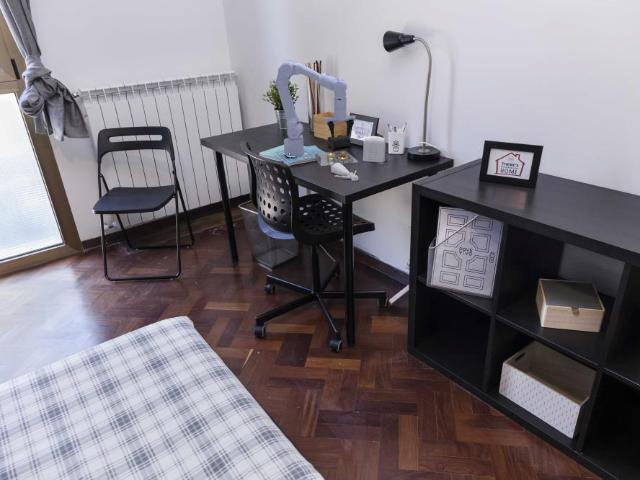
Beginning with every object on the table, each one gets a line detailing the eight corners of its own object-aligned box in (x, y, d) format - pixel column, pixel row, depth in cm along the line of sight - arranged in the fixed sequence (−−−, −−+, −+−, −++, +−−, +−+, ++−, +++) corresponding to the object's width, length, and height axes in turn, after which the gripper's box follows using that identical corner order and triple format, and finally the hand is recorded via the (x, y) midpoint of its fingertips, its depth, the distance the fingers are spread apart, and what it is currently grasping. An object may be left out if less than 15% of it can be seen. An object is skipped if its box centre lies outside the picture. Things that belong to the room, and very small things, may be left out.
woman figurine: (344, 158, 217) (368, 171, 204) (343, 168, 219) (367, 181, 206) (322, 163, 211) (346, 177, 198) (322, 173, 213) (345, 187, 200)
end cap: (334, 152, 241) (333, 139, 238) (326, 149, 247) (326, 136, 244) (350, 149, 246) (350, 136, 243) (343, 146, 251) (343, 133, 248)
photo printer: (385, 161, 225) (386, 135, 220) (383, 164, 222) (384, 138, 216) (364, 160, 228) (364, 134, 223) (362, 163, 225) (362, 136, 219)
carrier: (321, 167, 219) (321, 159, 218) (310, 155, 237) (310, 148, 235) (358, 164, 223) (358, 155, 222) (345, 152, 241) (345, 144, 239)
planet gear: (339, 161, 224) (339, 153, 222) (336, 158, 228) (336, 150, 226) (349, 161, 225) (349, 152, 223) (346, 158, 229) (346, 149, 227)
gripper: (327, 110, 219) (328, 139, 225) (357, 108, 222) (357, 137, 228) (323, 107, 225) (324, 136, 231) (353, 105, 228) (352, 133, 234)
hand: (340, 136), depth 230 cm, fingers open, 7 cm apart
